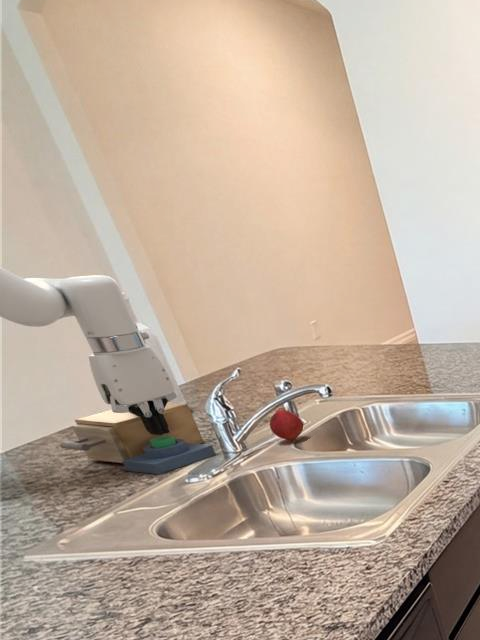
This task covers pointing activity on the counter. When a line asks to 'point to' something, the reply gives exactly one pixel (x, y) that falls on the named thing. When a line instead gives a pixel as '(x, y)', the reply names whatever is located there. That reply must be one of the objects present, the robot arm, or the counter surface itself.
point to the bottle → (157, 352)
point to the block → (168, 457)
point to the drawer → (98, 442)
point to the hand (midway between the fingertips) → (160, 433)
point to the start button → (162, 441)
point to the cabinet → (136, 433)
